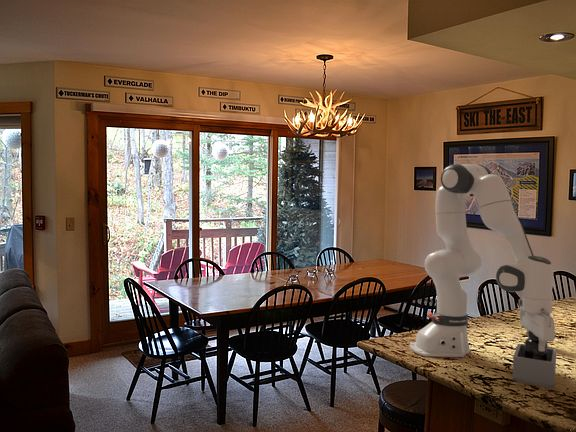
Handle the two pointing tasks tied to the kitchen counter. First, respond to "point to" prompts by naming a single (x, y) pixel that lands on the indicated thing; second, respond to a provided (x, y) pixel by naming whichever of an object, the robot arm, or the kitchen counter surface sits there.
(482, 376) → the kitchen counter surface
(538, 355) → the supplement bottle
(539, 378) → the walled bin
